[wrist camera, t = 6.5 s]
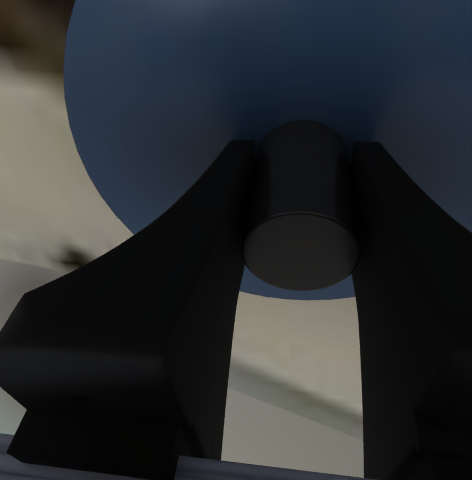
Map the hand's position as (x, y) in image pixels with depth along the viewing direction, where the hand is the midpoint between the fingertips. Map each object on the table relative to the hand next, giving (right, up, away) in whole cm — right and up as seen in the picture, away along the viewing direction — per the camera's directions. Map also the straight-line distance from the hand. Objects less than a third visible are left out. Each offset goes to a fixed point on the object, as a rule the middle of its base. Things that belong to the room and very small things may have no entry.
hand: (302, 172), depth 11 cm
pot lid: (0, +1, +1) cm, 1 cm away
